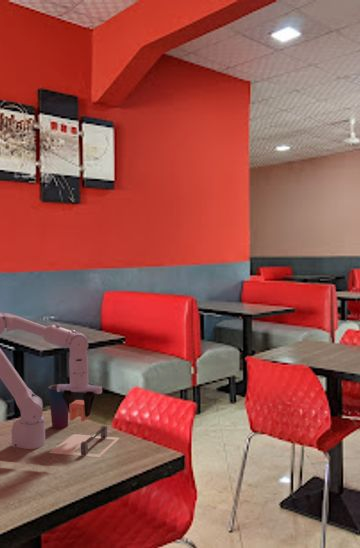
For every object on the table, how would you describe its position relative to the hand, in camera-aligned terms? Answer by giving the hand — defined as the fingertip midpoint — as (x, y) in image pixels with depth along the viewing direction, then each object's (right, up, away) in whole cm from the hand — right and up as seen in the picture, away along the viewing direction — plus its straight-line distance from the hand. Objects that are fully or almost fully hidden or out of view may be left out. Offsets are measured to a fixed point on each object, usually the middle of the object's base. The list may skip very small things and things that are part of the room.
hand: (80, 415), depth 165 cm
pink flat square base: (+3, -9, -4) cm, 11 cm away
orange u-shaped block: (0, -1, 0) cm, 1 cm away
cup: (-9, -9, +13) cm, 19 cm away
